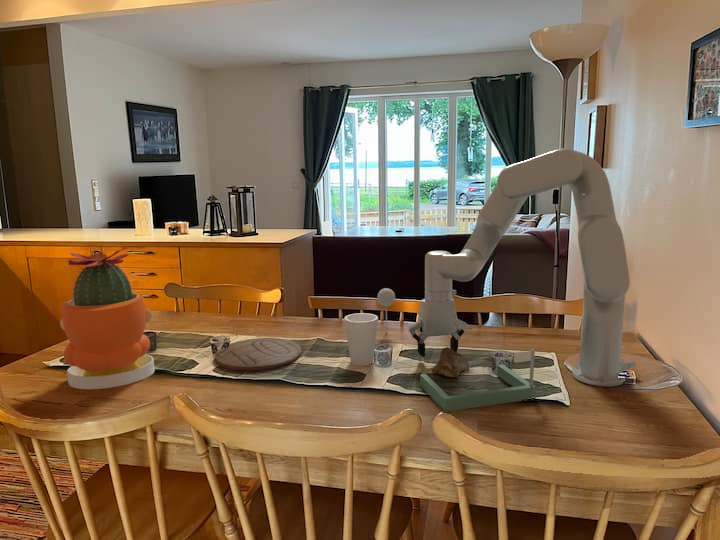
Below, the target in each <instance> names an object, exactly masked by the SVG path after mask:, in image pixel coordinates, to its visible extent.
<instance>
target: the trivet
mask: <svg viewBox="0 0 720 540" xmlns="http://www.w3.org/2000/svg"><path fill="white" fill-rule="evenodd" d="M229 344H230V345H229V347H228V348H226V349H222V350H219V349H217V351H216V352H215V353H214V361H215V364H216V365H217V366H218V368H219V367H220V368H221V369H224V370H228V371H232V372H239V373H240V372H242V373H255V372H264V371H271V370H277V369H280V368H283V367H286V366H289V365H291V364H293V363H295V362H296V361H298V360H299V359H300V357H301V354H302V350H301V349H302V347H301V346H300V345H299V344H298V343H297V342H296V341H292V340H290V339H284V338H276V337H257V338H248V339H243V340H238V341H236V342H235V341H233V342H231V343H229Z"/></svg>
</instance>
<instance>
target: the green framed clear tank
mask: <svg viewBox="0 0 720 540" xmlns="http://www.w3.org/2000/svg"><path fill="white" fill-rule="evenodd" d="M535 351H536V349H533V348H531V349H530V350H526V351H525V350H524V351H517V352H513V363H514V364H515V363H516V364H517V363H523V362H530V364H529V365H530V366H529V368H530V369H529V381H528V380H526V379H525V378H523V377H522V376H520V375H519V374H518V373H516V372H515V371H513V370H512V369H510V368H509V367H508V366H506V365H504V364H497V365H496V366H497V367H496V376H497V377H498V376H499V377H500V380H502V379H503V380H504V381H503V380H502V381H503V382H505V381H506V382H507V383H506V382H505V383H506V384H508V383H509V384H510V385H512V386H513V387H512V386H510V385H509V384H508V385H509V386H510V387H504V388H496V389H490V390H482V391H473V392H467V393H460V394H459V393H458V394H453V395H448V394H447V393H446V391H444V390H443V389H442V388H441V387H440V386H439V385H438V384H437V383H436V382H435V381H434V380H433V379H432V378H431V377H429V375H428V374H426V373H422V374H419V386H420V387H421V388H422V390H424V391H425V393H426V394H428V396H429V397H430V398H431V400H433V401H434V402H435V403H436V404H437V405H438V406H439V407H440V408H441V409H442V411H444V412H455V411H460V410H467V409H468V410H469V409H475V408H481V407H488V406H489V407H490V406H495V405H496V406H497V405H502V404H509V403H510V404H511V403H516V402H517V403H518V402H523V401H522V400H523V399H527V398H532V397H535V398H536V392H537V391H536V390H537V386H535V385H534V376H535V375H534V371H535V370H534V368H535ZM499 377H498V378H499Z"/></svg>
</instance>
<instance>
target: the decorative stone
mask: <svg viewBox="0 0 720 540" xmlns="http://www.w3.org/2000/svg"><path fill="white" fill-rule="evenodd" d="M468 367H469V359H468V357H466V356H464V355H462V354H461V353H459V352H457V353H456V352H455V351H453V350H452V349H451V348H450V347H448V346H446V347H443V348H442V349H441V351H440V353H439V360H438V361H437V363H436V364H435V365H434V367H432V368H431V372H433V373H435V374H437V375H439V376H443V377H446V378H454V379H455V378H456V379H457V378H458V377H459V374H461V373H462V372H463V371H466V370H467V369H468Z"/></svg>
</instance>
